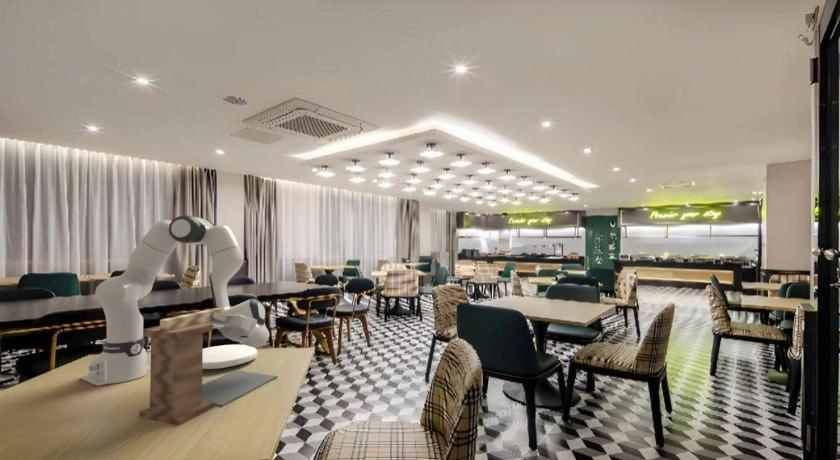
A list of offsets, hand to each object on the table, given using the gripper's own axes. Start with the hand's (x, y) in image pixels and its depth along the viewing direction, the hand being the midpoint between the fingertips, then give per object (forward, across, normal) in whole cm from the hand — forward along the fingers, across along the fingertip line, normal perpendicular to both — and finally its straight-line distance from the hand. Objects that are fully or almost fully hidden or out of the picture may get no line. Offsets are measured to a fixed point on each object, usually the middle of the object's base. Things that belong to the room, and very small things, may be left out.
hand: (207, 313), depth 125 cm
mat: (-22, 0, +19) cm, 30 cm away
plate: (-40, -24, +10) cm, 48 cm away
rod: (+4, 0, +4) cm, 6 cm away
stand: (-5, 0, +29) cm, 30 cm away
